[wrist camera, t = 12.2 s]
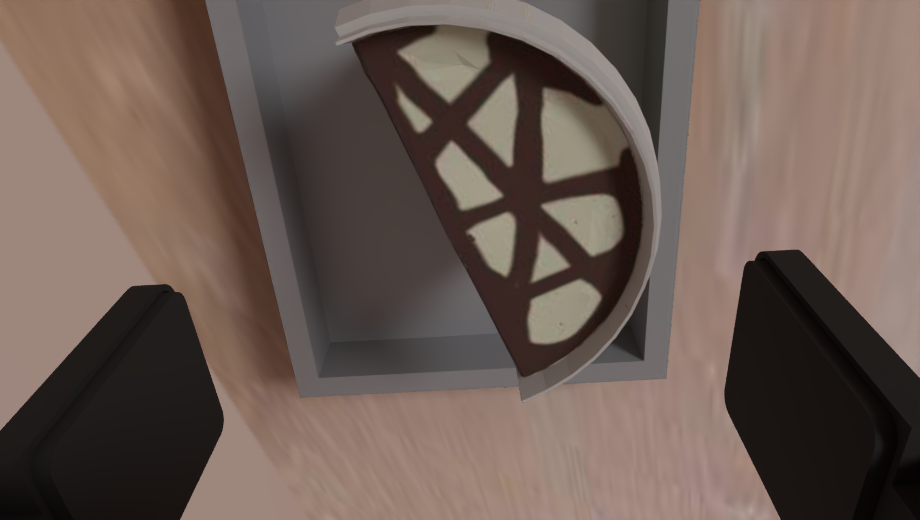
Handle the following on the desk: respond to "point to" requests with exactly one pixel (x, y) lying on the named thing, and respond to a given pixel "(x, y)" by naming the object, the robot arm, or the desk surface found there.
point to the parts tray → (416, 200)
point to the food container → (522, 167)
